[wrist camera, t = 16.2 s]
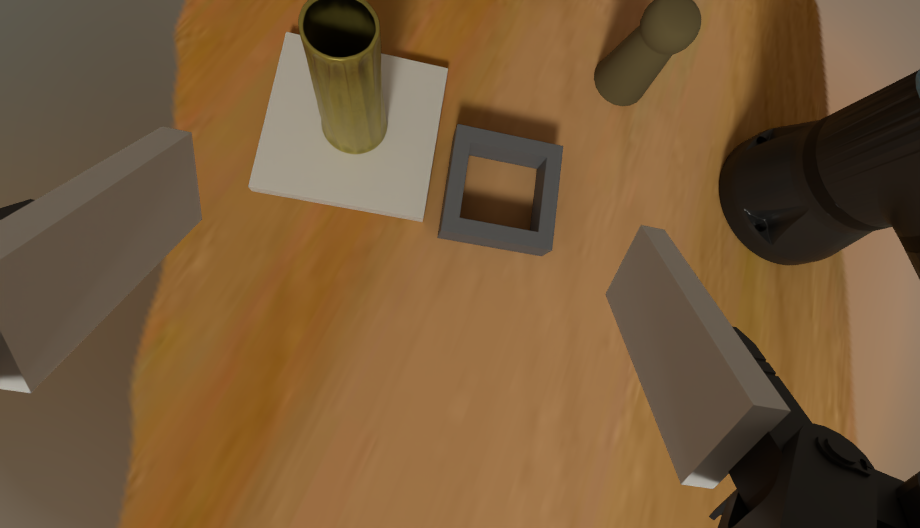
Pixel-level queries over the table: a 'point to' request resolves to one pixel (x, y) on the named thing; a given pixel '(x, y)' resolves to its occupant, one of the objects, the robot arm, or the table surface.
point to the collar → (507, 151)
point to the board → (341, 174)
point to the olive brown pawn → (647, 50)
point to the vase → (345, 71)
